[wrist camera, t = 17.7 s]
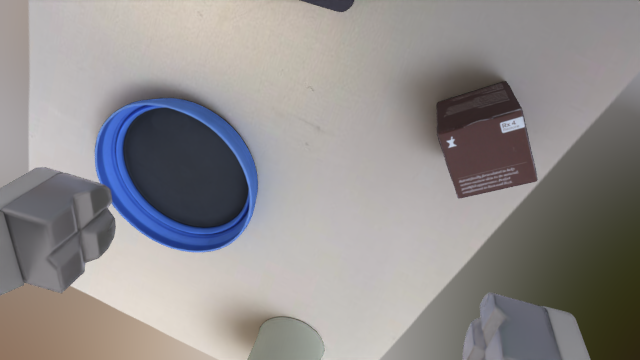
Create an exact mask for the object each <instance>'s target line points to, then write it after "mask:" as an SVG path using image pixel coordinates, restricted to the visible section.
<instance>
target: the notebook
mask: <svg viewBox="0 0 640 360" xmlns="http://www.w3.org/2000/svg"><path fill="white" fill-rule="evenodd" d="M301 1H304V2H307V3H311V4H314V5H317V6H321V7H324V8H327V9H331V10H334V11H338V12H344V11H346V10H347V9H349V8H350V7H351V6H352V4H353V2H354V0H301Z"/></svg>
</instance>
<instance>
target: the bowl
mask: <svg viewBox="0 0 640 360" xmlns="http://www.w3.org/2000/svg"><path fill="white" fill-rule="evenodd" d="M95 166H96V172H97V176H98V178H99V181H100V184H104V185H106V186H107V187H108V188H110V189H111V195H112V201H113V202H112V205H113V206H114V207H115V209H116V210H117V211H118V212H119V213H120V214H121V215H122V216H123V217H124V218H125V219H126V220H127V221H128V222H129V223H130V224H131V225H132V226H133V227H135V228H136V229H137V230H138V231H140V232H141V233H142V234H144V235H145V236H147V237H149V238H150V239H152V240H154V241H156V242H158V243H160V244H162V245H164V246H167V247H170V248H173V249H177V250H181V251H187V252H209V251H214V250H218V249H221V248H223V247H226V246H227V245H229V244H231V243H232V242H233V241H235V240H236V239H237V238H238V237H239V236H240V235H241V233H242V232H243V231H244V230H245V228H246V227H247V225H248V224H249V222H250V219H251V217H252V214H253V211H254V207H255V201H256V196H257V189H258V180H257V172H256V168H255V164H254V161H253V158H252V156H251V154H250V152H249V150H248V148H247V146H246V144H245V143H244V141H243V140H242V138H241V137H240V136H239V135H238V133H237V132H236V131H235V130H234V129H233V128H232V127H231V126H230V125H229V124H228V123H227V122H226V121H225V120H223V119H222V118H221V117H220V116H218V115H217V114H215V113H214V112H212V111H210V110H209V109H207V108H205V107H203V106H201V105H198V104H196V103H193V102H190V101H186V100H182V99H176V98H159V99H149V100H142V101H137V102H133V103H130V104H128V105H125V106H124V107H122V108H120V109H119V110H117V111H116V112H114V113H113V114H112V115H111V116H110V117H109V118H108V119H107V120H106V121H105V122H104V124H103V125H102V127H101V129H100V131H99V134H98V137H97V140H96V146H95Z"/></svg>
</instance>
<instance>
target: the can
mask: <svg viewBox="0 0 640 360" xmlns="http://www.w3.org/2000/svg"><path fill="white" fill-rule="evenodd" d="M323 353H324V345H323V341H322V339H321V337H320V336H319V335H318V333H317V332H316V331H315V330H314V329H313V328H311V327H310V326H309V325H307V324H305V323H303V322H301V321H299V320H296V319H292V318H287V317H278V318H272V319H270V320H268V321H266V322H265V323H264V324H263V325H262V326H261V327H260V329H259V333H258V336H257V339H256V341H255V344H254V346H253V348H252V350H251V353H250V355H249V357H248V359H247V360H321V358H322V356H323Z"/></svg>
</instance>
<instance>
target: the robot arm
mask: <svg viewBox="0 0 640 360" xmlns="http://www.w3.org/2000/svg"><path fill="white" fill-rule="evenodd" d="M112 202H113V201H112V195H111V189H110V188H108V187H107V186H106V185H104V184H100V183H97V182H94V181H91V180H87V179H84V178H81V177H77V176H74V175H71V174H68V173H63V172H60V171H56V170H53V169H50V168H46V167H41V168H35V169H33V170H32V171H30V172H28V173H26V174H25V175H23V176H21V177H19V178H18V179H16V180H14V181H12V182H10V183H9V184H7V185H5V186H3V187H2V188H0V295H2V294H5V293H7V292H9V291H11V290H13V289H16V288H18V287H20V286H23V285H24V283H28V284H31V285H34V286H38V287H41V288H45V289H48V290H52V291H55V292H59V293H62V292H63V291H64V290H65V289H67V288H68V287H69V286H70V285H71V284H72V283H73V282H74V281H75V280H76V279H77V278H78V277H79V276H80V275H81V274H83V273H84V271H85V263H86V262H89V261H92V260H95V259H98V258H99V257H100V256H101V255H102V254H103V253H104V252H105V251H106V250H107V249H108V248H109V246H110V244H111V242H112V240H113V238H114V234H115V228H116V226H115V218H114V217H113V215H112V214H111V212H110V211H109V210H108V207H109V206H110V204H111V203H112ZM480 314H481V317H480V318H478V319H476V320H473V321H472V322H471V325H470V326H469V329H468V331H467V333H466V337H465V341H464V346H463V360H590V357H589V355H588V352H587V349H586V346H585V344H584V341H583V338H582V336H581V333H580V330H579V328H578V325H577V322H576V319H575V317H574V316H573V315H572V314H571V313H568V312H564V311H560V310H557V309H553V308H549V307H545V306H539V305H535V304H531V303H528V302H524V301H520V300H516V299H513V298H509V297H505V296H502V295H498V294H494V293H491V292H489V293H488V294H486V295H485V297H484V298H483V300H482V302H481V304H480Z"/></svg>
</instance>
